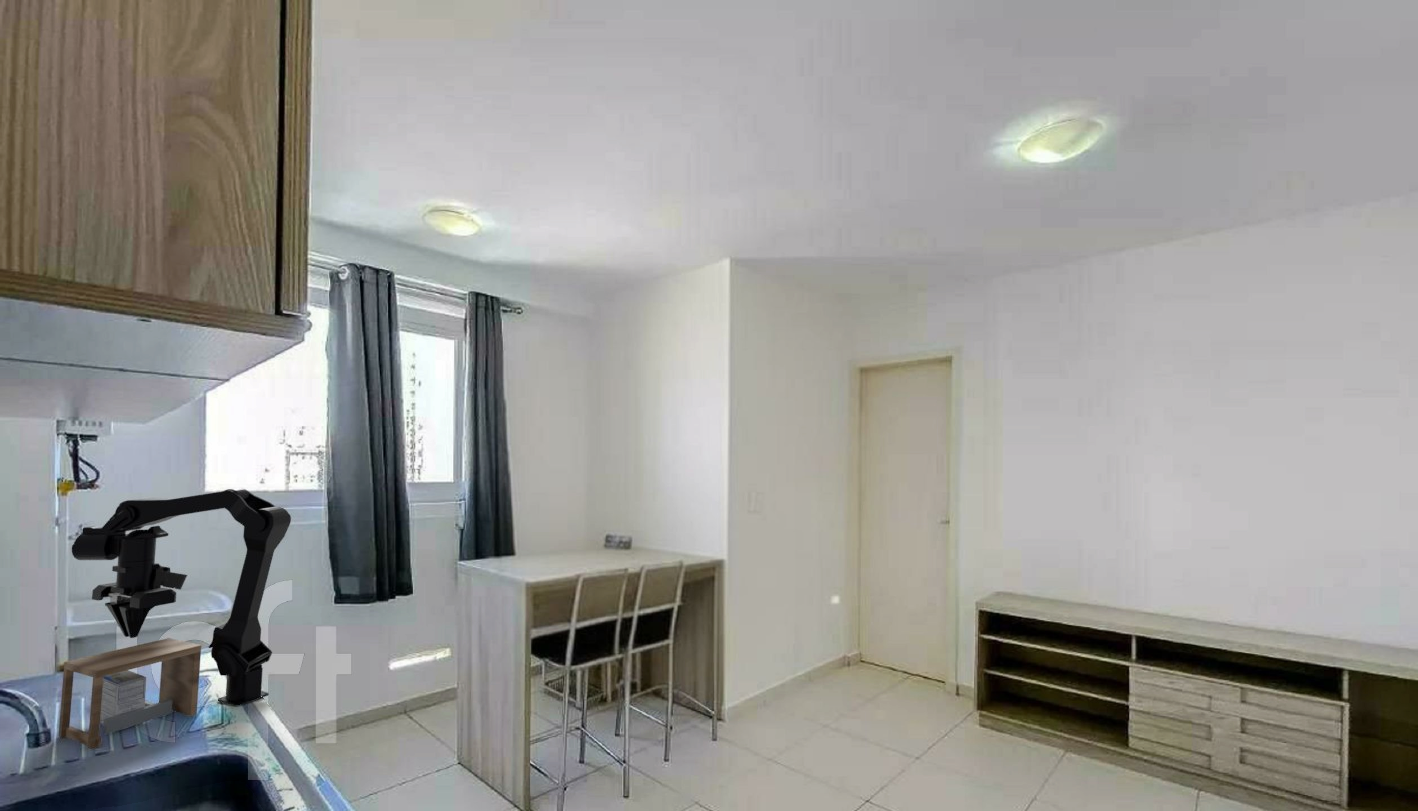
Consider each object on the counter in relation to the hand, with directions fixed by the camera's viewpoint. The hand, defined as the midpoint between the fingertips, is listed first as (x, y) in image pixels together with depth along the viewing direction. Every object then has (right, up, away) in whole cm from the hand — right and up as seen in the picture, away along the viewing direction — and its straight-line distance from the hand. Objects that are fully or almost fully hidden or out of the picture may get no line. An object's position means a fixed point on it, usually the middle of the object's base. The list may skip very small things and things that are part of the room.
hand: (131, 636), depth 130 cm
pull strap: (+2, -12, -7) cm, 14 cm away
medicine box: (+8, -13, -11) cm, 18 cm away
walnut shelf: (+11, -12, -12) cm, 20 cm away
